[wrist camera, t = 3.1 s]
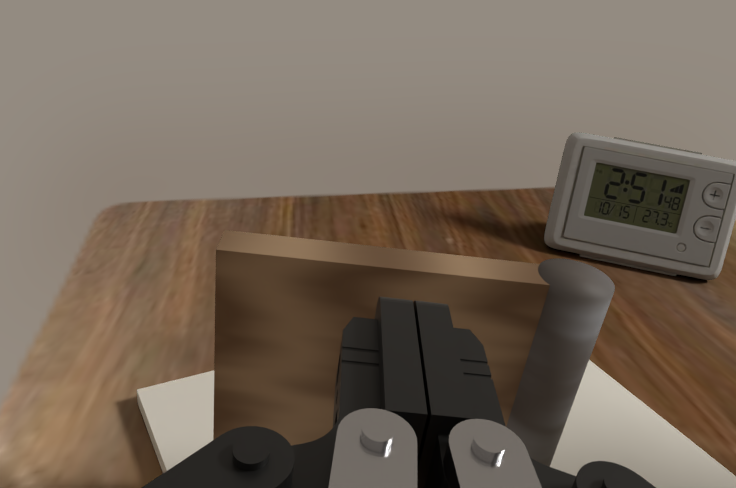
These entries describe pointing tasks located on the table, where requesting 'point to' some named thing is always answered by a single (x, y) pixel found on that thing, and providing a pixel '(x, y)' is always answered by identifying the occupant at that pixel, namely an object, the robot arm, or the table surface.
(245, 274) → the wooden board with post
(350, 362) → the robot arm
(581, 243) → the digital clock
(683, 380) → the table surface
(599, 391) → the thin white panel
